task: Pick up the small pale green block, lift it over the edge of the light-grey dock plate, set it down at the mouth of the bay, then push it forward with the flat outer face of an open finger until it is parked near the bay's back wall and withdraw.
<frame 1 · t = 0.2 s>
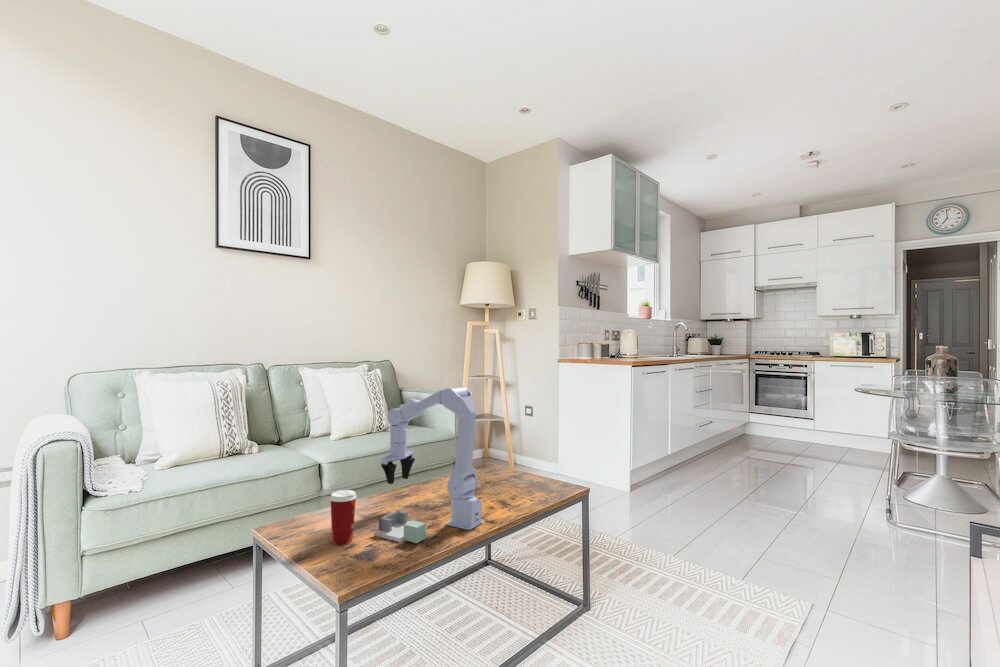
hand: (398, 480, 168), 10 cm above the table, tool pointing down, fingers open, 7 cm apart
pale green block: (414, 541, 140), on the table
dock: (400, 532, 147), on the table
paper cup: (342, 542, 139), on the table
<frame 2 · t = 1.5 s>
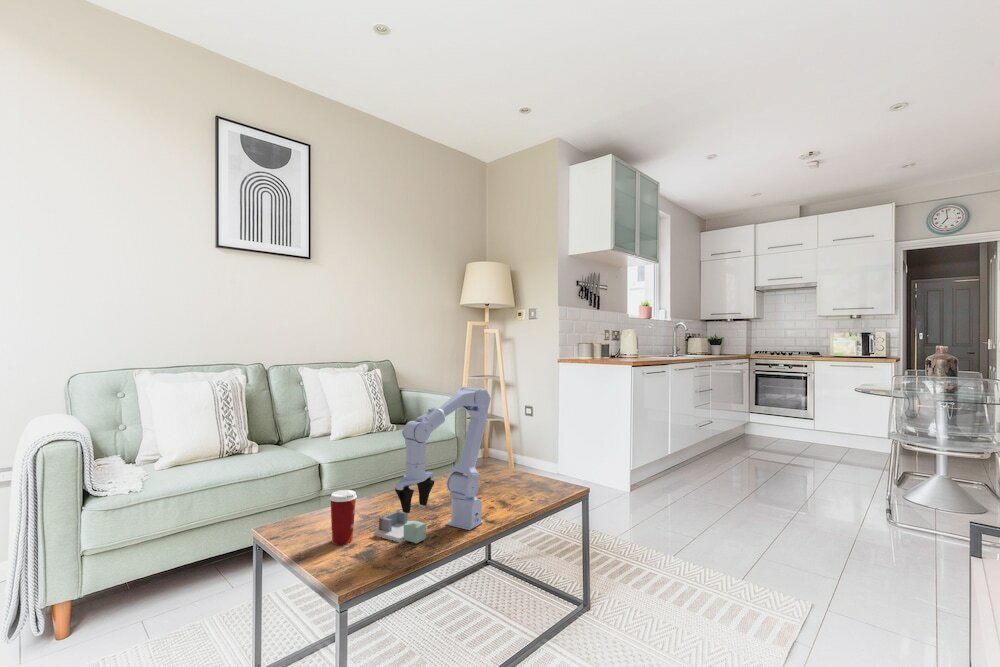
hand: (414, 508, 141), 9 cm above the table, tool pointing down, fingers open, 7 cm apart
nothing on the table moved.
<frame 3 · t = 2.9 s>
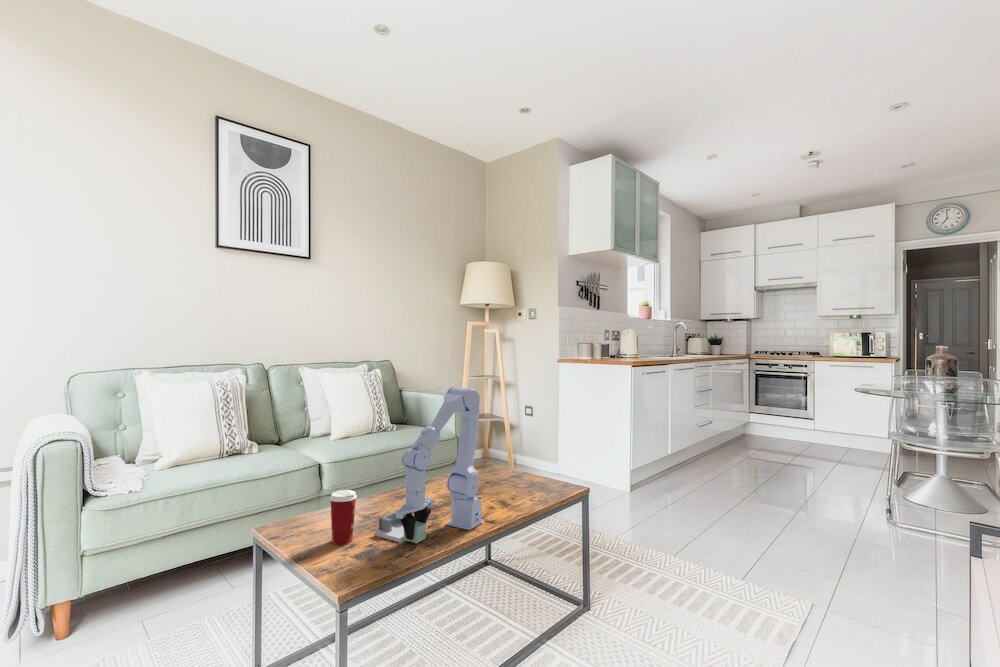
hand: (414, 536, 140), 1 cm above the table, tool pointing down, fingers closed on pale green block, 4 cm apart
pale green block: (414, 541, 140), on the table, touching gripper
everything else where it was.
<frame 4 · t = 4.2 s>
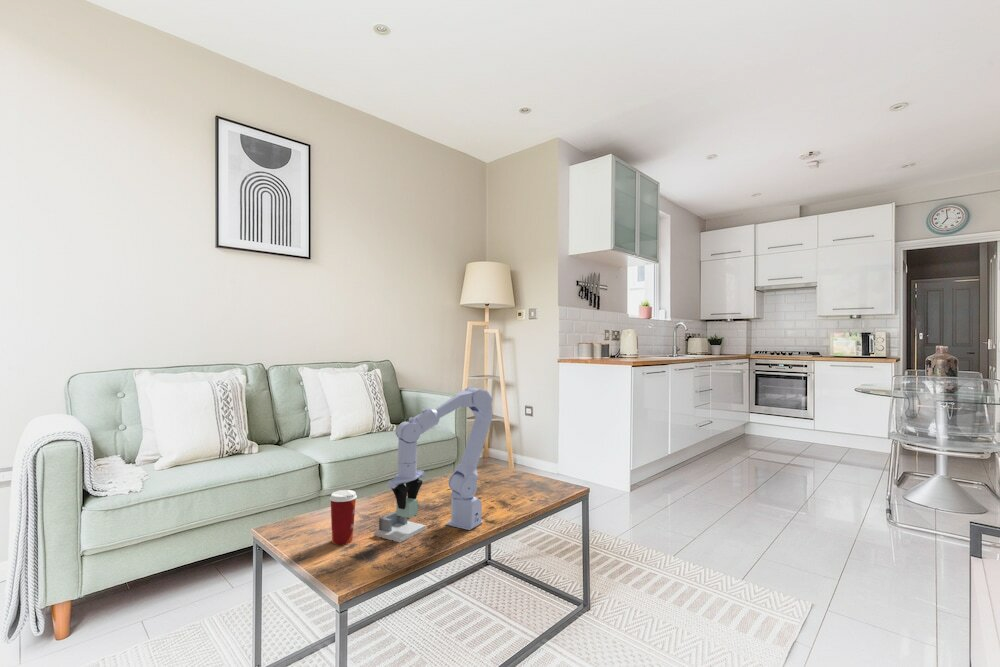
hand: (406, 506, 146), 8 cm above the table, tool pointing down, fingers closed on pale green block, 4 cm apart
pale green block: (407, 516, 145), point 5 cm above the table, touching gripper
everything else where it was.
when the fingers open (3 cm above the table, at t = 5.6 s): pale green block stays where it is, resting on dock.
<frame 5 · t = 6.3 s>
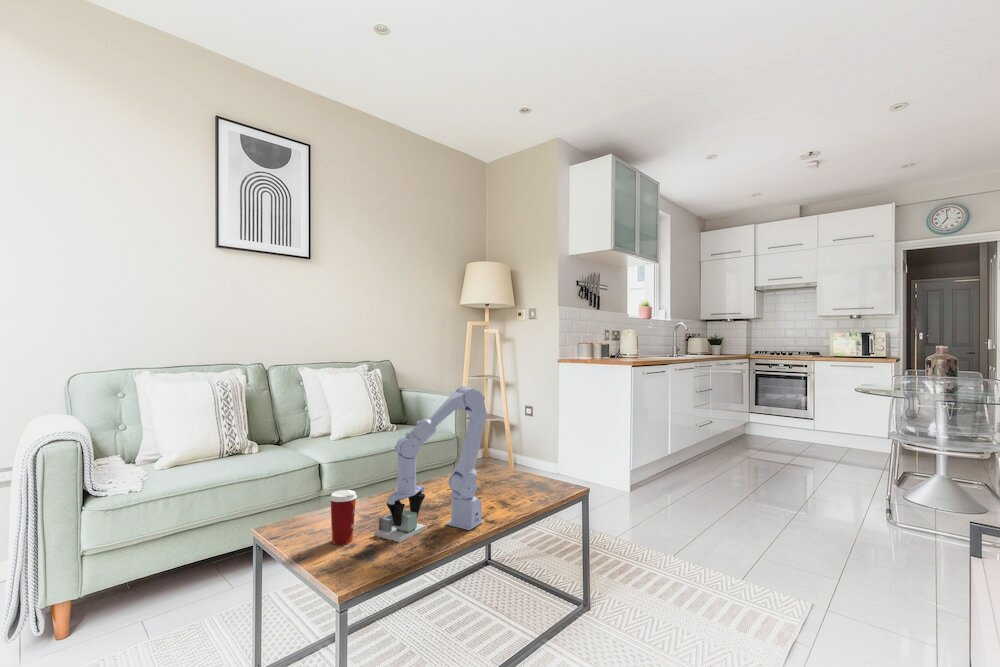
hand: (406, 521, 146), 4 cm above the table, tool pointing down, fingers open, 7 cm apart
pale green block: (406, 529, 146), point 1 cm above the table, touching dock
everything else where it was.
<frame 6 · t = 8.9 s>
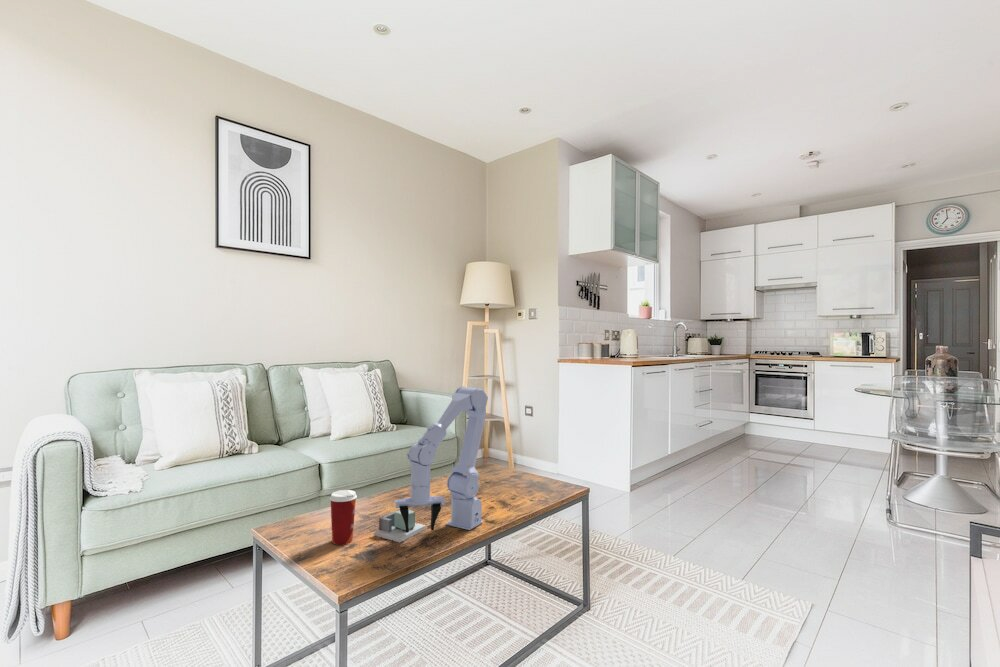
hand: (419, 530, 143), 2 cm above the table, tool pointing down, fingers open, 7 cm apart
pale green block: (404, 528, 147), point 1 cm above the table, touching dock, gripper
everything else where it was.
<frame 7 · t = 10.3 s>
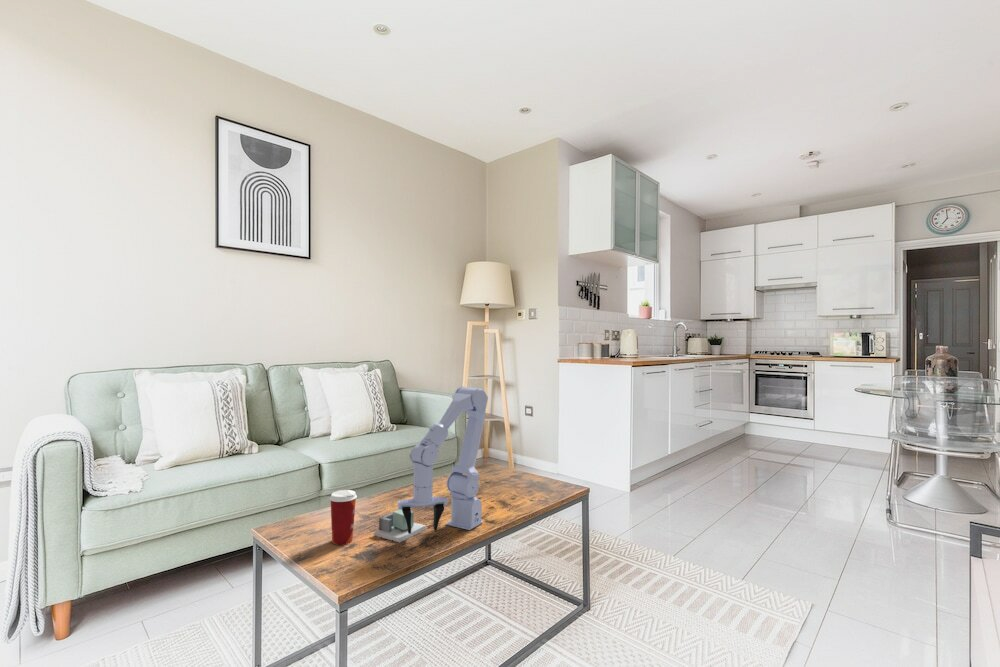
hand: (422, 530, 143), 2 cm above the table, tool pointing down, fingers open, 7 cm apart
pale green block: (403, 528, 147), point 1 cm above the table, touching dock
everything else where it was.
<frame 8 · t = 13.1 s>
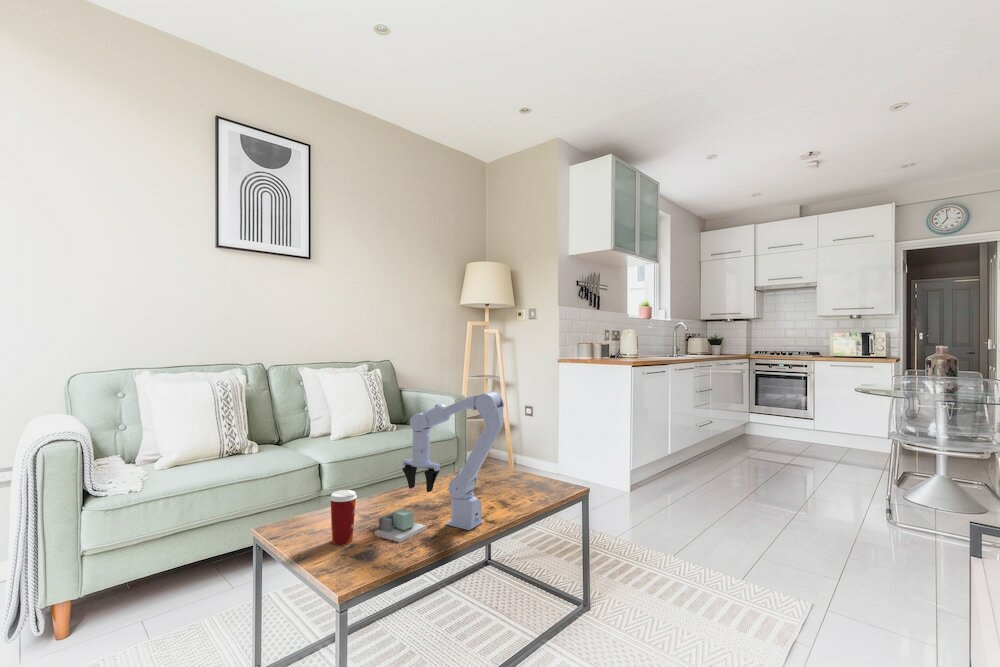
hand: (420, 489, 160), 9 cm above the table, tool pointing down, fingers open, 7 cm apart
nothing on the table moved.
at the end: pale green block 1.7 cm from the target spot on the dock, point 1.2 cm above the dock's base; pale green block tilted 0°; the gripper is holding nothing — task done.
